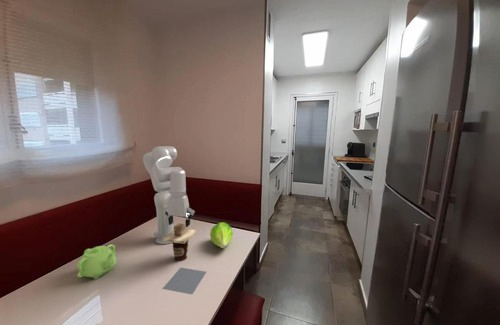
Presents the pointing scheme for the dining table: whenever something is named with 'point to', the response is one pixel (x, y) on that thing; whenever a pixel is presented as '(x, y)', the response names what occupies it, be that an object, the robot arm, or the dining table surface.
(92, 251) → the teapot
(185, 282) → the mat
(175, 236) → the lid
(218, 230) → the lettuce
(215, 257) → the dining table surface
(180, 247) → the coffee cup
